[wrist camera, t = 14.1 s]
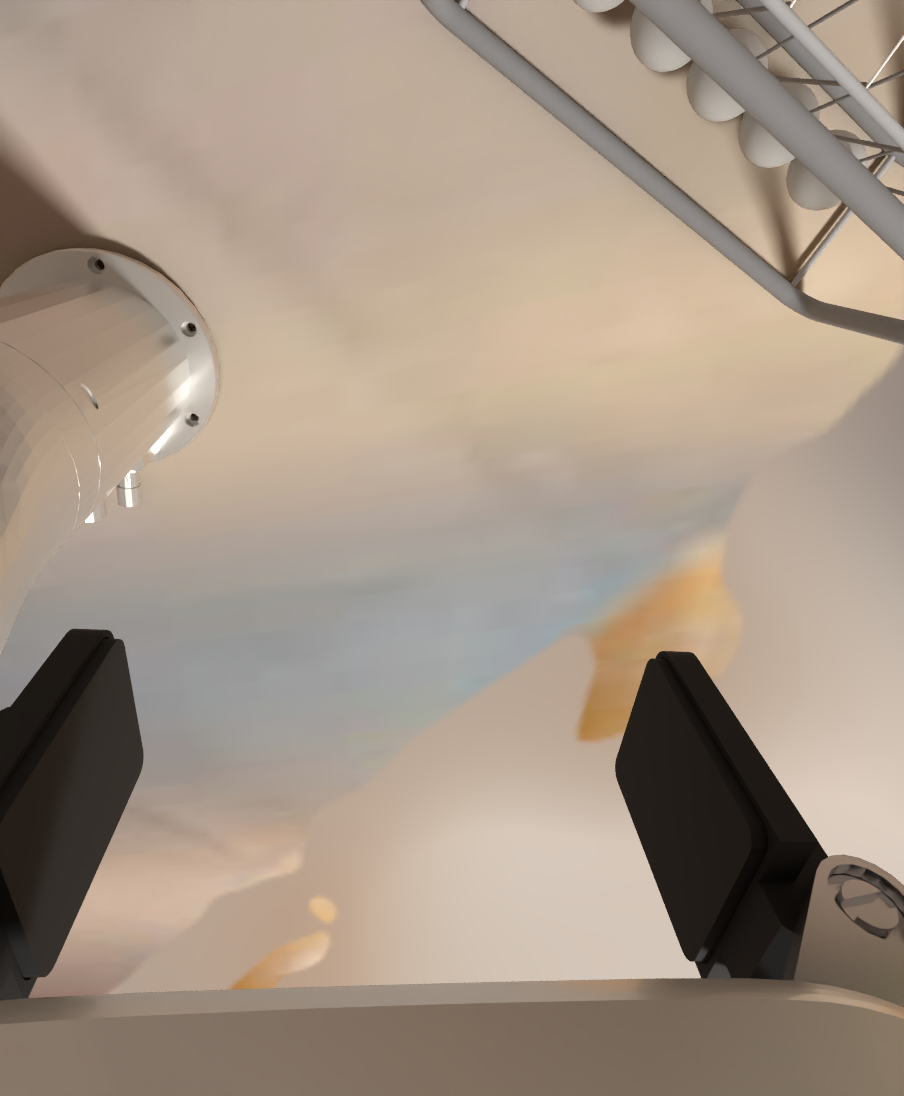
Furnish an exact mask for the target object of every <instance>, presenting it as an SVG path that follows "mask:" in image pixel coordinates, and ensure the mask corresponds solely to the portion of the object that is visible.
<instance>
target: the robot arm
mask: <svg viewBox="0 0 904 1096" xmlns="http://www.w3.org/2000/svg"><path fill="white" fill-rule="evenodd" d="M98 260H101V261H102V262H103V263H104V266H105V268H104V269H101V268H100V267H99V266H98ZM189 323H193V324H194V325H195V327H196V330H195V331H192V330H190V329H189V327H188V324H189ZM219 387H220V368H219V362H218V357H217V352H216V347H215V344H214V342H213V339H212V337H211V335H210V332H209V330H208V327H207V325H206V324H205V322H204V320H203V319H202V317H201V316H200V314H199V312H198V311H197V309H196V308H195V306H194V305H193V304H192V303H191V302H190V300H189V299H188V298H187V297H186V296H185V295H184V294H183V292H182V291H181V290H180V289H179V288H178V287H176V286H175V285H174V284H173V283H172V282H170V281H169V280H168V279H167V278H166V277H164V276H163V275H162V274H161V273H159V272H157V271H156V270H154V269H152V268H151V267H149V266H147V265H146V264H144V263H142V262H141V261H138V260H136V259H133V258H130V257H128V256H125V255H123V254H120V253H117V252H112V251H107V250H102V249H97V248H69V249H63V250H55V251H52V252H49V253H46V254H43V255H40V256H37V257H34V258H32V259H31V260H29V261H28V262H26V263H24V264H23V265H21V266H20V267H18V268H17V269H16V270H15V271H14V272H13V273H12V274H11V275H10V276H9V277H8V278H7V279H6V280H5V281H4V282H3V284H2V286H1V287H0V654H1V652H2V650H3V648H4V646H5V643H6V641H7V639H8V637H9V634H10V632H11V630H12V627H13V625H14V623H15V621H16V618H17V616H18V614H19V611H20V609H21V607H22V604H23V602H24V600H25V598H26V596H27V594H28V592H29V590H30V589H31V587H32V586H33V584H34V582H35V581H36V579H37V577H38V576H39V575H40V573H41V572H42V570H43V569H44V568H45V566H46V565H47V564H48V562H49V561H50V560H51V558H52V557H53V556H54V555H55V554H56V552H57V551H58V550H59V549H60V548H61V547H62V545H63V544H64V543H65V542H66V541H67V540H68V539H69V537H70V536H71V535H72V534H73V533H74V532H75V531H76V530H77V529H78V527H80V526H81V525H82V524H83V523H88V522H96V521H100V520H102V519H104V518H105V517H106V505H105V498H106V497H107V496H108V495H109V494H110V493H111V492H112V490H113V489H114V488H115V487H117V497H118V504H119V505H120V506H124V507H135V506H139V505H140V504H142V496H141V484H140V483H139V473H138V472H139V471H142V470H143V469H144V468H145V467H146V466H147V464H148V463H149V462H154V461H159V460H161V459H164V458H166V457H168V456H171V455H173V454H176V453H177V452H178V451H180V450H181V449H183V448H184V447H186V446H187V445H189V444H190V443H191V442H192V441H193V440H194V439H195V438H196V436H197V435H198V434H199V433H200V432H201V431H202V430H203V428H204V427H205V425H206V424H207V422H208V421H209V419H210V417H211V415H212V412H213V410H214V408H215V405H216V403H217V397H218V392H219ZM192 413H193V414H196V415H197V416H198V417H199V419H194V418H193V417H192ZM142 765H143V747H142V742H141V736H140V730H139V725H138V719H137V713H136V708H135V702H134V697H133V691H132V685H131V680H130V674H129V668H128V663H127V657H126V651H125V646H124V643H123V641H122V640H121V639H114V637H113V634H112V633H111V631H108V630H92V629H72V630H70V631H69V632H68V633H67V634H66V635H65V636H64V637H63V639H62V640H61V641H60V643H59V644H58V645H57V647H56V648H55V649H54V651H53V652H52V653H51V654H50V656H49V657H48V658H47V660H46V661H45V662H44V664H43V665H42V666H41V668H40V669H39V670H38V671H37V673H36V674H35V675H34V677H33V678H32V679H31V681H30V682H29V683H28V685H27V686H26V687H25V688H24V690H23V691H22V692H21V694H20V695H19V696H18V698H17V699H16V700H15V702H14V703H13V704H12V706H11V707H7V708H5V709H3V710H1V711H0V1096H904V885H903V884H901V883H900V882H899V881H898V880H897V879H896V878H895V877H893V876H892V875H891V874H889V873H888V872H886V871H884V870H883V869H881V868H880V867H878V866H877V865H875V864H872V863H870V862H868V861H865V860H863V859H860V858H857V857H852V856H847V855H835V856H829V857H828V856H827V854H826V853H825V852H824V850H823V848H822V847H821V845H820V844H819V842H818V841H817V839H816V837H815V836H814V834H813V833H812V831H811V830H810V828H809V827H808V825H807V824H806V822H805V821H804V819H803V818H802V816H801V815H800V813H799V811H798V810H797V808H796V807H795V805H794V804H793V803H792V801H791V799H790V798H789V797H788V795H787V793H786V792H785V790H784V789H783V787H782V786H781V784H780V783H779V781H778V780H777V778H776V777H775V775H774V774H773V772H772V771H771V769H770V767H769V766H768V764H767V763H766V761H765V760H764V758H763V757H762V755H761V754H760V753H759V751H758V749H757V748H756V746H755V745H754V744H753V742H752V740H751V739H750V737H749V736H748V734H747V733H746V731H745V730H744V728H743V727H742V725H741V724H740V722H739V720H738V719H737V718H736V716H735V715H734V713H733V711H732V710H731V708H730V707H729V705H728V704H727V703H726V701H725V699H724V698H723V696H722V695H721V693H720V692H719V690H718V689H717V687H716V686H715V684H714V683H713V681H712V680H711V678H710V677H709V675H708V673H707V672H706V670H705V669H704V667H703V666H702V664H701V663H700V661H699V660H698V658H697V657H696V656H695V655H694V654H693V653H691V652H674V651H662V652H659V654H658V655H657V656H656V659H653V658H652V659H650V660H649V661H648V663H647V665H646V668H645V671H644V674H643V677H642V681H641V684H640V687H639V690H638V693H637V696H636V699H635V702H634V705H633V708H632V712H631V715H630V718H629V721H628V724H627V727H626V730H625V733H624V736H623V740H622V743H621V746H620V749H619V752H618V755H617V758H616V764H615V772H616V778H617V781H618V784H619V786H620V789H621V791H622V794H623V797H624V799H625V802H626V805H627V807H628V810H629V812H630V815H631V818H632V820H633V823H634V825H635V828H636V831H637V833H638V836H639V839H640V841H641V844H642V847H643V849H644V852H645V854H646V857H647V860H648V862H649V864H650V867H651V870H652V873H653V875H654V878H655V880H656V883H657V886H658V888H659V891H660V894H661V896H662V899H663V902H664V904H665V907H666V909H667V912H668V914H669V917H670V920H671V922H672V925H673V928H674V930H675V933H676V936H677V938H678V941H679V943H680V946H681V948H682V951H683V953H684V955H685V956H686V958H687V959H688V960H689V961H695V963H696V965H697V968H698V971H699V973H700V976H701V978H699V979H615V980H571V981H570V980H569V981H524V982H523V981H522V982H481V983H444V984H408V985H370V986H339V987H338V986H336V987H335V986H334V987H302V988H270V989H239V990H209V991H179V992H149V993H126V994H125V993H124V994H105V995H85V996H65V997H45V998H28V997H29V995H30V992H31V990H32V988H33V986H34V984H35V982H36V979H37V977H46V976H47V975H48V974H49V973H50V972H51V970H52V969H53V967H54V965H55V963H56V961H57V959H58V956H59V954H60V952H61V950H62V947H63V945H64V943H65V941H66V938H67V936H68V934H69V932H70V929H71V927H72V925H73V923H74V921H75V918H76V916H77V914H78V912H79V909H80V907H81V905H82V903H83V900H84V898H85V896H86V894H87V891H88V889H89V887H90V885H91V883H92V880H93V878H94V876H95V874H96V871H97V869H98V867H99V865H100V862H101V860H102V858H103V856H104V853H105V851H106V849H107V847H108V845H109V842H110V840H111V838H112V836H113V833H114V831H115V829H116V827H117V824H118V822H119V820H120V818H121V815H122V813H123V811H124V809H125V807H126V804H127V802H128V800H129V798H130V795H131V793H132V791H133V789H134V786H135V784H136V782H137V780H138V778H139V775H140V772H141V769H142Z"/></svg>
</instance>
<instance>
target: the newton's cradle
mask: <svg viewBox="0 0 904 1096" xmlns="http://www.w3.org/2000/svg"><path fill="white" fill-rule="evenodd" d="M468 1H469V0H460V1H459V3H457V2H456V1H455V0H422V2H423V4H424V5H425V7H426V8H427V9H428V10H429V11H430V13H431V14H432V15H433V16H434V17H435V18H436V19H437V20H438V21H439V22H440V23H441V24H442V25H443V26H444V27H445V28H447V29H448V30H449V31H450V32H451V33H453V34H454V35H455V36H456V37H457V38H459V39H460V40H461V41H462V42H464V43H465V44H466V45H467V46H468V47H470V48H471V49H472V50H473V51H475V52H476V53H477V54H478V55H479V56H481V57H482V58H483V59H484V60H486V61H487V62H488V63H489V64H490V65H492V66H493V67H494V68H495V69H497V70H498V71H499V72H500V73H501V74H503V75H504V76H505V77H506V78H508V79H509V80H510V81H511V82H512V83H514V84H515V85H516V86H517V87H519V88H520V89H521V90H522V91H523V92H525V93H526V94H527V95H528V96H530V97H531V98H532V99H533V100H534V101H536V102H537V103H538V104H539V105H541V106H542V107H543V108H544V109H545V110H547V111H548V112H549V113H550V114H552V115H553V116H554V117H555V118H556V119H558V120H559V121H560V122H561V123H563V124H564V125H565V126H566V127H568V128H569V129H570V130H571V131H572V132H574V133H575V134H576V135H577V136H579V137H580V138H581V139H582V140H583V141H585V142H586V143H587V144H588V145H590V146H591V147H592V148H593V149H594V150H596V151H597V152H598V153H599V154H601V155H602V156H603V157H604V158H605V159H607V160H608V161H609V162H610V163H612V164H613V165H614V166H615V167H616V168H618V169H619V170H620V171H621V172H623V173H624V174H625V175H626V176H627V177H629V178H630V179H631V180H632V181H634V182H635V183H636V184H637V185H638V186H640V187H641V188H642V189H643V190H645V191H646V192H647V193H648V194H649V195H651V196H652V197H653V198H654V199H656V200H657V201H658V202H659V203H660V204H662V205H663V206H664V207H665V208H667V209H668V210H669V211H670V212H671V213H673V214H674V215H675V216H676V217H678V218H679V219H680V220H681V221H682V222H684V223H685V224H686V225H687V226H689V227H690V228H691V229H692V230H693V231H695V232H696V233H697V234H698V235H700V236H701V237H702V238H703V239H704V240H706V241H707V242H708V243H709V244H711V245H712V246H713V247H714V248H716V249H717V250H718V251H719V252H720V253H722V254H723V255H724V256H725V257H727V258H728V259H729V260H730V261H731V262H733V263H734V264H735V265H736V266H738V267H739V268H740V269H741V270H742V271H744V272H745V273H746V274H747V275H749V276H750V277H751V278H752V279H753V280H755V281H756V282H757V283H758V284H760V285H761V286H762V287H763V288H764V289H766V290H767V291H768V292H769V293H771V294H772V295H773V296H774V297H775V298H777V299H778V300H779V301H780V302H782V303H783V304H784V305H786V306H787V307H789V308H790V309H792V310H793V311H795V312H797V313H799V314H801V315H802V316H805V317H807V318H809V319H811V320H814V321H817V322H821V323H825V324H829V325H832V326H836V327H840V328H844V329H847V330H851V331H855V332H858V333H862V334H866V335H870V336H873V337H877V338H881V339H885V340H888V341H892V342H896V343H900V344H903V345H904V320H900V319H895V318H891V317H886V316H882V315H877V314H873V313H868V312H864V311H859V310H855V309H850V308H846V307H841V306H837V305H832V304H828V303H824V302H821V301H818V300H816V299H814V298H812V297H810V296H808V295H806V294H805V293H803V292H802V291H800V290H799V289H797V288H796V285H797V284H798V283H799V281H800V280H801V279H802V278H803V276H804V275H805V274H806V272H807V271H808V270H809V269H810V267H811V266H812V265H813V263H814V262H815V261H816V260H817V258H818V257H819V256H820V254H821V253H822V252H823V251H824V249H825V248H826V247H827V245H828V244H829V243H830V242H831V240H832V239H833V238H834V236H835V235H836V234H837V233H838V231H839V230H840V229H841V228H842V226H843V225H844V224H845V222H846V221H847V220H848V219H849V217H850V216H851V215H852V213H854V214H855V215H857V216H858V217H859V218H860V219H861V220H862V221H863V222H864V223H865V224H866V225H867V226H868V227H869V228H870V229H871V230H872V231H873V232H875V233H876V234H877V235H878V236H879V237H880V238H881V239H882V240H883V241H884V242H885V243H886V244H887V245H888V246H889V247H890V248H891V249H893V250H894V251H895V252H896V253H897V254H898V255H899V256H900V257H901V258H902V259H903V260H904V204H903V203H902V202H901V201H900V200H899V199H898V198H897V197H896V196H895V195H894V194H893V193H895V194H898V195H902V196H904V192H903V191H900V190H896V189H893V188H889V187H886V186H885V185H883V184H882V183H881V182H880V181H879V179H880V177H881V176H882V175H883V174H884V172H885V171H886V170H887V168H888V167H889V166H890V165H891V163H892V162H893V161H895V162H896V163H898V164H899V165H901V166H903V167H904V128H903V127H902V126H901V125H900V124H899V123H898V122H897V121H896V120H895V119H894V118H893V117H892V115H891V114H890V113H889V112H888V111H887V110H886V109H885V108H884V107H883V106H882V105H881V104H880V103H879V102H878V101H877V100H876V98H875V97H874V96H873V95H872V94H871V93H870V92H869V91H868V89H871V88H873V87H875V86H878V85H880V84H882V83H885V82H887V81H889V80H892V79H894V78H896V77H899V76H901V75H903V74H904V70H902V71H900V72H898V73H895V74H893V75H891V76H889V77H886V78H884V79H882V80H879V81H877V82H875V83H872V82H873V80H874V79H875V78H876V76H877V75H878V73H879V72H880V71H881V69H882V68H883V67H884V65H885V64H886V63H887V61H888V60H889V58H890V57H891V56H892V54H893V53H894V52H895V50H896V49H897V48H898V46H899V45H900V43H901V42H902V41H903V39H904V35H903V36H902V37H901V39H900V40H899V41H898V43H897V44H896V45H895V47H894V48H893V50H892V51H891V52H890V54H889V55H888V56H887V58H886V59H885V61H884V62H883V63H882V65H881V66H880V67H879V69H878V70H877V71H876V73H875V74H874V76H873V77H872V78H871V80H870V81H869V82H868V83H867V82H860V81H859V80H858V79H857V78H856V77H855V76H854V75H853V74H852V73H851V72H850V71H849V70H848V69H847V68H846V67H845V66H844V64H843V63H842V62H841V61H840V60H839V59H838V58H837V57H836V56H835V55H834V54H833V53H832V52H831V51H830V50H829V49H828V48H827V46H826V45H825V44H824V43H823V42H822V41H821V40H820V39H819V38H818V37H817V36H816V35H815V34H814V33H813V32H812V31H811V28H813V27H814V26H816V25H818V24H820V23H821V22H823V21H825V20H826V19H828V18H830V17H831V16H833V15H835V14H836V13H838V12H840V11H841V10H843V9H845V8H846V7H848V6H850V5H851V4H853V3H855V2H856V1H858V0H850V1H848V2H846V3H845V4H843V5H841V6H840V7H838V8H836V9H835V10H833V11H831V12H830V13H828V14H826V15H825V16H823V17H821V18H820V19H818V20H816V21H815V22H813V23H812V24H810V25H808V26H807V25H806V24H805V23H804V22H803V21H802V20H801V19H800V18H799V17H798V16H797V15H796V14H795V12H794V11H793V10H792V9H791V8H792V6H793V5H794V3H795V2H796V0H793V1H792V2H791V1H790V2H784V1H783V0H737V1H738V2H739V3H740V4H741V5H742V6H743V7H744V8H745V9H740V10H734V11H728V12H722V13H716V14H713V5H712V0H629V1H630V2H631V3H632V4H633V5H634V6H635V9H634V13H633V16H632V21H631V27H630V37H631V44H632V47H633V50H634V53H635V55H636V56H637V58H638V60H639V61H640V62H641V63H642V64H643V65H645V66H646V67H647V68H649V69H651V70H654V71H657V72H667V71H673V70H676V69H678V68H680V67H682V66H683V65H685V64H686V63H688V62H689V61H690V60H692V61H693V62H692V64H691V66H690V69H689V72H688V78H687V95H688V99H689V102H690V104H691V106H692V108H693V109H694V111H695V112H696V113H697V114H698V115H700V116H701V117H702V118H704V119H706V120H709V121H716V122H721V121H727V120H730V119H732V118H735V117H737V116H739V115H740V114H742V113H743V112H744V114H743V117H742V119H741V123H740V127H739V144H740V147H741V150H742V152H743V154H744V156H745V157H746V158H747V159H748V160H749V161H750V162H752V163H753V164H755V165H757V166H760V167H767V168H772V167H778V166H781V165H784V164H787V163H789V162H790V161H791V163H790V165H789V168H788V172H787V179H786V181H787V188H788V192H789V195H790V197H791V198H792V200H793V201H794V202H795V203H796V204H798V205H799V206H801V207H802V208H805V209H809V210H823V209H828V208H831V207H834V206H836V205H838V204H839V203H841V202H843V203H844V204H845V205H846V206H847V207H848V209H847V211H846V212H845V213H844V214H843V216H842V217H841V218H840V220H839V221H838V222H837V223H836V225H835V226H834V227H833V229H832V230H831V231H830V232H829V234H828V235H827V236H826V238H825V239H824V240H823V242H822V243H821V244H820V245H819V247H818V248H817V249H816V251H815V252H814V253H813V254H812V256H811V257H810V258H809V260H808V261H807V262H806V263H805V265H804V266H803V267H802V269H801V270H800V271H799V273H798V274H797V275H796V276H795V278H794V279H793V280H792V282H791V283H790V282H789V281H788V280H786V279H785V278H784V277H783V276H782V275H780V274H779V273H778V272H777V271H776V270H774V269H773V268H772V267H771V266H770V265H769V264H767V263H766V262H765V261H764V260H763V259H761V258H760V257H759V256H758V255H757V254H755V253H754V252H753V251H752V250H751V249H749V248H748V247H747V246H746V245H745V244H743V243H742V242H741V241H740V240H739V239H738V238H736V237H735V236H734V235H733V234H732V233H730V232H729V231H728V230H727V229H726V228H724V227H723V226H722V225H721V224H720V223H718V222H717V221H716V220H715V219H714V218H713V217H711V216H710V215H709V214H708V213H707V212H705V211H704V210H703V209H702V208H701V207H699V206H698V205H697V204H696V203H695V202H693V201H692V200H691V199H690V198H689V197H687V196H686V195H685V194H684V193H683V192H682V191H680V190H679V189H678V188H677V187H676V186H674V185H673V184H672V183H671V182H670V181H668V180H667V179H666V178H665V177H664V176H662V175H661V174H660V173H659V172H658V171H657V170H655V169H654V168H653V167H652V166H651V165H649V164H648V163H647V162H646V161H645V160H643V159H642V158H641V157H640V156H639V155H637V154H636V153H635V152H634V151H633V150H632V149H630V148H629V147H628V146H627V145H626V144H624V143H623V142H622V141H621V140H620V139H618V138H617V137H616V136H615V135H614V134H612V133H611V132H610V131H609V130H608V129H606V128H605V127H604V126H603V125H602V124H601V123H599V122H598V121H597V120H596V119H595V118H593V117H592V116H591V115H590V114H589V113H587V112H586V111H585V110H584V109H583V108H581V107H580V106H579V105H578V104H577V103H576V102H574V101H573V100H572V99H571V98H570V97H568V96H567V95H566V94H565V93H564V92H562V91H561V90H560V89H559V88H558V87H556V86H555V85H554V84H553V83H552V82H550V81H549V80H548V79H547V78H546V77H545V76H543V75H542V74H541V73H540V72H539V71H537V70H536V69H535V68H534V67H533V66H531V65H530V64H529V63H528V62H527V61H525V60H524V59H523V58H522V57H521V56H520V55H518V54H517V53H516V52H515V51H514V50H512V49H511V48H510V47H509V46H508V45H506V44H505V43H504V42H503V41H502V40H500V39H499V38H498V37H497V36H496V35H494V34H493V33H492V32H491V31H490V30H489V29H487V28H486V27H485V26H484V25H483V24H481V23H480V22H479V21H478V20H477V19H475V18H474V17H473V16H472V15H471V14H469V13H468V12H467V11H466V10H465V7H466V5H467V3H468ZM573 1H574V2H575V3H576V4H577V5H579V6H580V7H581V8H583V9H585V10H587V11H590V12H597V13H598V12H605V11H608V10H610V9H613V8H615V7H616V6H618V5H619V4H621V3H622V2H623V1H624V0H573ZM743 14H751V15H752V16H753V17H754V18H755V19H756V20H757V21H758V22H759V23H760V24H761V26H762V27H763V28H764V29H765V30H766V31H767V32H768V33H769V34H770V35H771V36H772V37H773V38H774V39H775V40H776V41H777V42H778V44H777V45H775V46H773V47H772V48H770V49H769V50H767V51H766V48H765V46H764V44H763V42H762V40H761V39H760V38H759V37H758V36H757V35H756V34H755V33H753V32H751V31H749V30H746V29H741V28H734V29H727V28H726V27H725V26H724V25H722V24H721V23H720V22H719V21H718V20H717V19H716V18H722V17H729V16H736V15H743ZM781 46H782V47H783V48H784V49H785V50H786V51H787V52H788V53H789V54H790V55H791V56H792V57H793V58H794V59H795V60H796V61H797V62H798V63H799V64H800V65H801V66H802V67H803V68H804V70H805V71H806V72H807V73H808V74H809V75H810V76H811V77H812V78H813V79H799V78H781V77H775V76H774V75H773V74H772V73H771V72H770V71H769V70H768V55H767V54H769V53H771V52H772V51H774V50H776V49H778V48H779V47H781ZM871 83H872V84H871ZM803 84H814V85H820V86H821V87H822V88H823V89H824V90H825V91H826V92H827V93H828V94H829V95H830V96H831V97H832V98H833V99H834V100H833V101H831V102H828V103H826V104H824V105H821V106H819V104H818V101H817V99H816V96H815V94H814V93H813V92H812V91H811V89H810V88H808V87H807V86H806V85H803ZM835 103H838V104H839V105H840V106H841V107H842V108H843V109H844V110H845V111H846V113H847V114H848V115H849V116H850V117H851V118H852V119H853V120H854V121H855V122H856V123H857V124H858V125H859V126H860V127H861V128H862V129H863V130H864V131H865V132H866V133H867V134H868V135H869V136H870V137H871V138H872V139H873V140H874V141H875V142H876V143H875V142H870V141H864V140H860V139H859V138H858V137H857V136H856V135H854V134H852V133H850V132H848V131H845V130H830V131H829V130H828V129H827V128H826V127H825V126H824V125H823V124H822V123H821V122H820V121H819V116H820V112H819V110H821V109H823V108H826V107H828V106H831V105H833V104H835ZM864 145H866V146H870V147H875V148H880V149H883V150H884V151H885V152H882V153H879V154H876V155H873V156H869V157H867V154H866V150H865V147H864ZM884 155H888V158H887V159H886V160H885V161H884V163H883V164H882V165H881V167H880V168H879V169H878V170H877V172H876V173H875V174H874V175H873V174H872V173H871V172H870V171H869V170H868V169H867V168H866V165H867V161H868V160H871V159H874V158H878V157H881V156H884Z"/></svg>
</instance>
